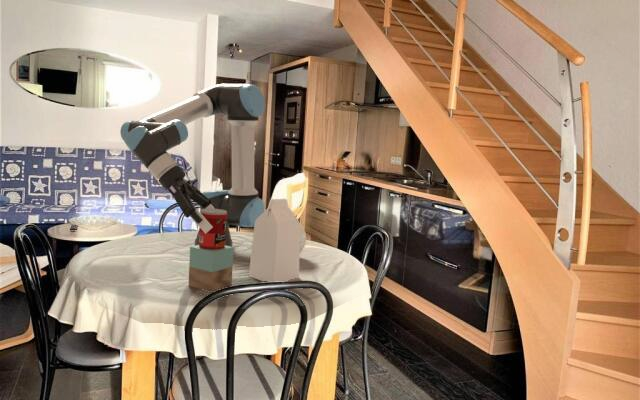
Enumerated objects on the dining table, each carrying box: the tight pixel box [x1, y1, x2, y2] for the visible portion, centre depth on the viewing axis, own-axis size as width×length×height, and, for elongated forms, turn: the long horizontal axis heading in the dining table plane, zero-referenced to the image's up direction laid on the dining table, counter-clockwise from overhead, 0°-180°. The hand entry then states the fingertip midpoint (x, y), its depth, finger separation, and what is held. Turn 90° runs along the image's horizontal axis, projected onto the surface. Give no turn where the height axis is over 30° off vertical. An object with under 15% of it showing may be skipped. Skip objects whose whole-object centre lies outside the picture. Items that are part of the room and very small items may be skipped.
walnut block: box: [188, 266, 234, 292], centre depth 145 cm, size 9×9×6 cm
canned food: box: [198, 209, 227, 250], centre depth 144 cm, size 8×8×11 cm
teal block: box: [188, 245, 234, 272], centre depth 145 cm, size 9×9×6 cm
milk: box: [248, 198, 301, 282], centre depth 158 cm, size 12×12×26 cm
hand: (215, 226), depth 144 cm, fingers open, 13 cm apart
